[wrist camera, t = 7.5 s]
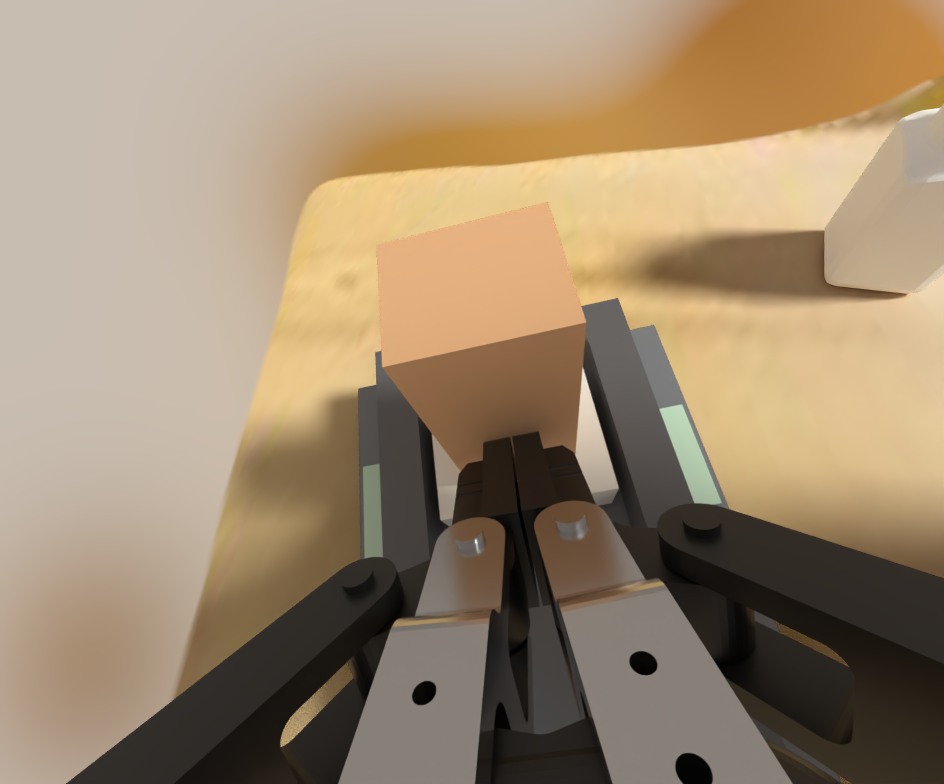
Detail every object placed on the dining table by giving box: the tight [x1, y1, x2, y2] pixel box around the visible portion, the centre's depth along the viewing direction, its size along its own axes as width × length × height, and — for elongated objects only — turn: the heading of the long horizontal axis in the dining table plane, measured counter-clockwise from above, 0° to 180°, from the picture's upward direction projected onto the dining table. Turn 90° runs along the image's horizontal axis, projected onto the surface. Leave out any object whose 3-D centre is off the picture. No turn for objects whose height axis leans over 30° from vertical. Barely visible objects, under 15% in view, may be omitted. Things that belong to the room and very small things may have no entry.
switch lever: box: [377, 202, 619, 527], centre depth 13 cm, size 5×6×11 cm
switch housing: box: [358, 298, 841, 783], centre depth 15 cm, size 22×14×5 cm, turn 8°
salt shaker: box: [824, 104, 944, 294], centre depth 17 cm, size 4×4×10 cm
